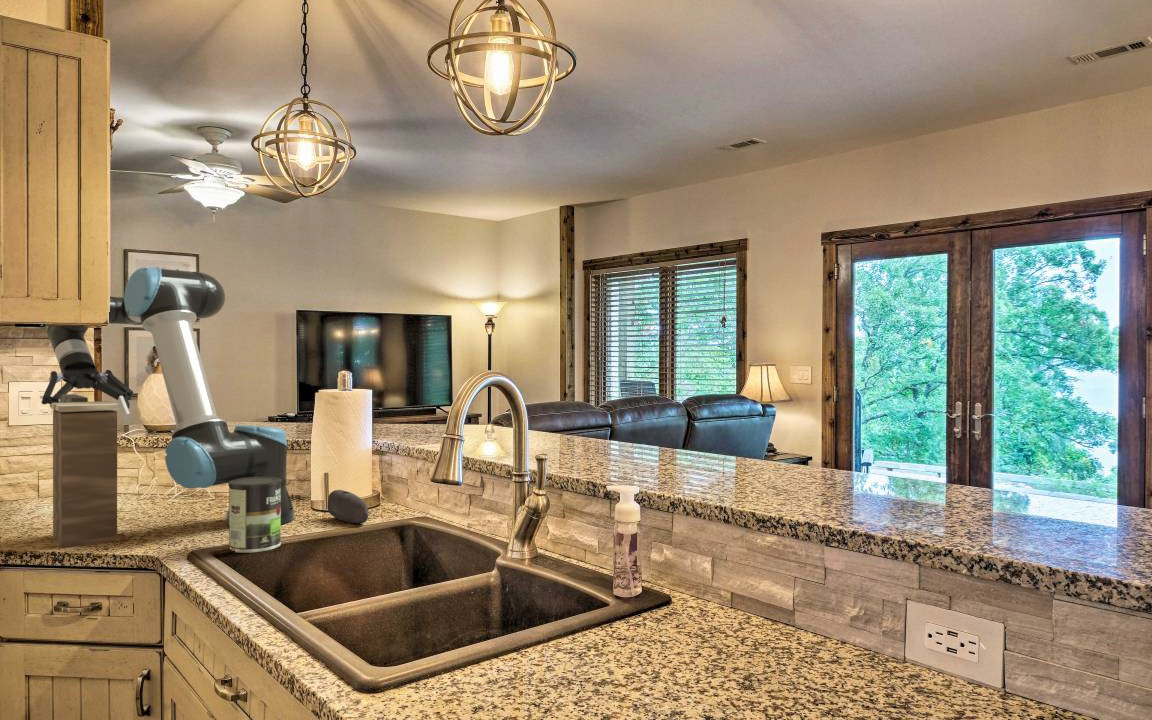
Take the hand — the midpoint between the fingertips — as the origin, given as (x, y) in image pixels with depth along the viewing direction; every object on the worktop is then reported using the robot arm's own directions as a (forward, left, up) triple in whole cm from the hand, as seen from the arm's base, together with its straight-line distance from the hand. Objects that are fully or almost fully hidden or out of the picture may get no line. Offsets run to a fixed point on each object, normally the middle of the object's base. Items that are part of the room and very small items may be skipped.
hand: (97, 419), depth 190 cm
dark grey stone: (-59, -30, -24) cm, 70 cm away
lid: (-18, +12, +5) cm, 22 cm away
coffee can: (-61, -3, -24) cm, 66 cm away
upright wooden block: (-25, +14, -24) cm, 37 cm away
